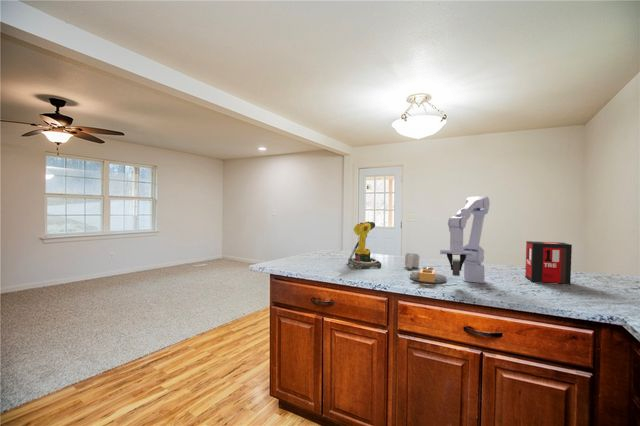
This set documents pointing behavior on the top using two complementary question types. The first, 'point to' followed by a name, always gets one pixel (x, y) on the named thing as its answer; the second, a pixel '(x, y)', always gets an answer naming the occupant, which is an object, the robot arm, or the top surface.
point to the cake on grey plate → (438, 277)
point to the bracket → (424, 275)
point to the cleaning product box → (548, 262)
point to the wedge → (456, 267)
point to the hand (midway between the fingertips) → (456, 269)
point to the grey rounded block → (412, 260)
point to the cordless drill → (363, 248)
